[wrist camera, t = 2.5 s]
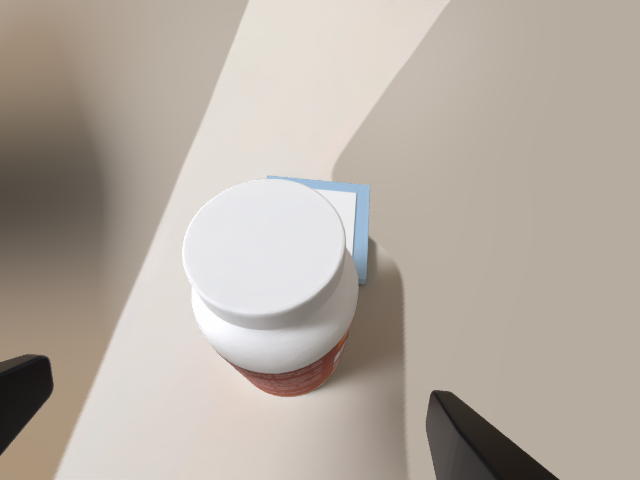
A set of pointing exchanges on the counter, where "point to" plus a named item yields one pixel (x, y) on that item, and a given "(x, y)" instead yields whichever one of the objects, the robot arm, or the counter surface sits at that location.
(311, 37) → the counter surface
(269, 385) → the pill bottle
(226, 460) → the counter surface
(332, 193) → the coaster
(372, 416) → the counter surface
